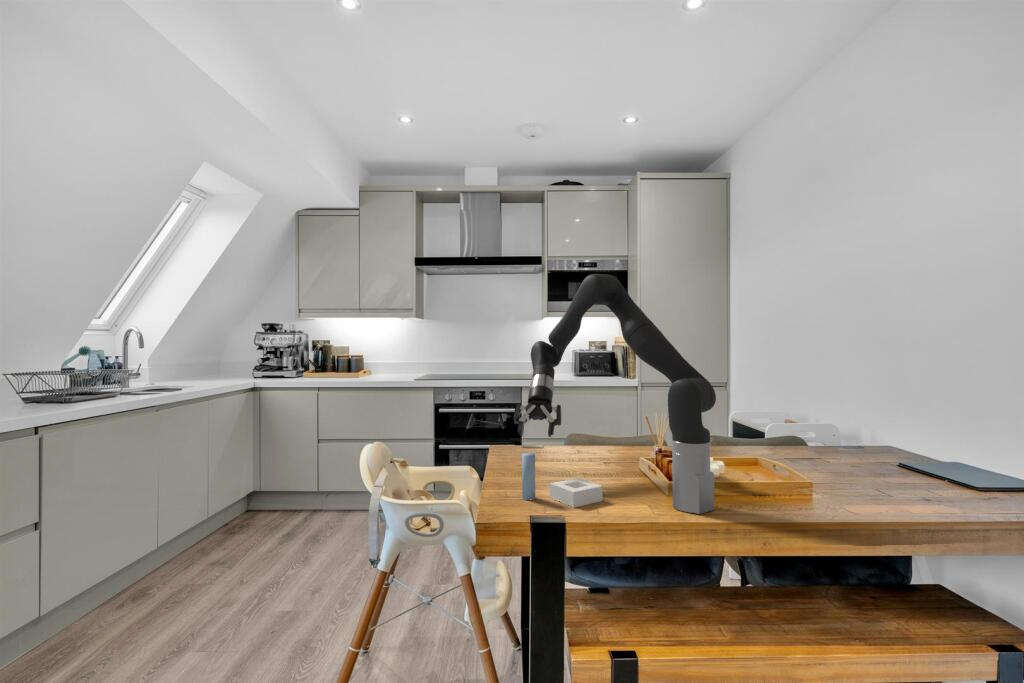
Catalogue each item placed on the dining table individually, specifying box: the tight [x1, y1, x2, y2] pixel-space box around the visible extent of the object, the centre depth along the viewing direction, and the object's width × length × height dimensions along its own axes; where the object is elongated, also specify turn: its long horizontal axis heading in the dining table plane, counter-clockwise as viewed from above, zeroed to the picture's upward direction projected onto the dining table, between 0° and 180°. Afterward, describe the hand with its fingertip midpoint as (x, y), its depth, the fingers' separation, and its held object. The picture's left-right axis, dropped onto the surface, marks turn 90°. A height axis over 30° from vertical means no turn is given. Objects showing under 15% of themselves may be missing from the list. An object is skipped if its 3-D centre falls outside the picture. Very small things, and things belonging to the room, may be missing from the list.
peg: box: [521, 452, 536, 501], centre depth 143 cm, size 4×4×12 cm
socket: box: [549, 477, 603, 508], centre depth 141 cm, size 10×10×4 cm
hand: (535, 434), depth 153 cm, fingers open, 8 cm apart
